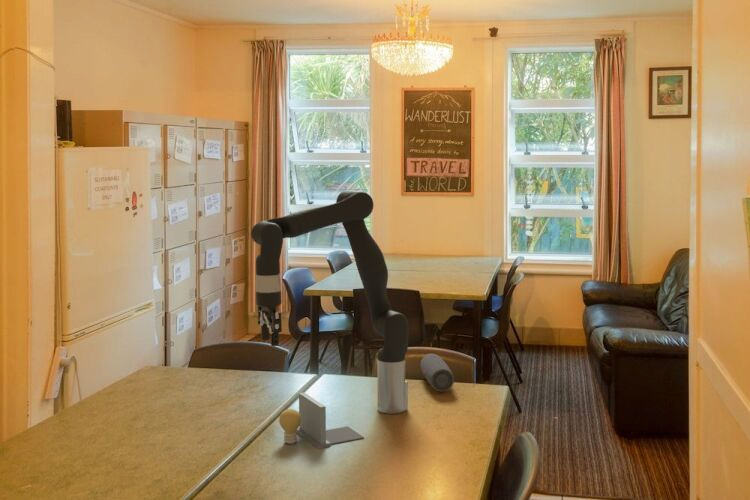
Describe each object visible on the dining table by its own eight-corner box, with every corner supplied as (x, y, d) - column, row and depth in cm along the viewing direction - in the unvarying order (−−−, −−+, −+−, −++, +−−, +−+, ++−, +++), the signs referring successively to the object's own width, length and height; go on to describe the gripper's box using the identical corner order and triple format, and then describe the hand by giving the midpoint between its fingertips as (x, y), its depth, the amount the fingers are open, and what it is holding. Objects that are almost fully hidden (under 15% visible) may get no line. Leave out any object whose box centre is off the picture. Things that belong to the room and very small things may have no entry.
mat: (347, 427, 247) (347, 426, 247) (363, 438, 237) (363, 437, 237) (315, 433, 242) (315, 432, 242) (330, 444, 232) (330, 443, 232)
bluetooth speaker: (418, 378, 302) (418, 352, 301) (442, 377, 303) (443, 351, 302) (429, 395, 279) (429, 368, 278) (455, 394, 280) (455, 367, 279)
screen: (307, 428, 246) (306, 391, 244) (330, 446, 231) (330, 406, 229) (295, 431, 244) (294, 393, 242) (318, 448, 229) (317, 408, 228)
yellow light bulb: (297, 447, 230) (297, 413, 229) (276, 445, 232) (276, 412, 230) (304, 439, 237) (303, 406, 235) (283, 438, 238) (283, 405, 237)
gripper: (289, 291, 230) (290, 346, 232) (272, 284, 243) (273, 336, 245) (264, 294, 227) (265, 349, 229) (248, 286, 240) (250, 339, 242)
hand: (269, 342), depth 237 cm, fingers open, 8 cm apart
